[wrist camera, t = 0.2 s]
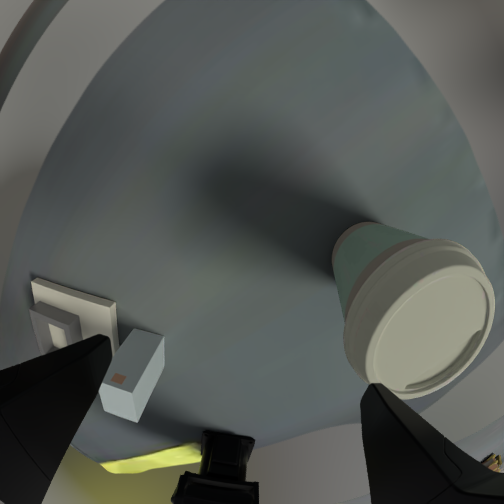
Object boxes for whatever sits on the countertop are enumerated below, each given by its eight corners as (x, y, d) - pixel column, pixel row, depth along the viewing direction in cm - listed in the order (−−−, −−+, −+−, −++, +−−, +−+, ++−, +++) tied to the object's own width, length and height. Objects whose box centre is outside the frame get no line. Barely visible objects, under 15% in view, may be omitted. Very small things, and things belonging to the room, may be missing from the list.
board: (125, 387, 28) (115, 405, 25) (55, 359, 28) (42, 373, 25) (115, 301, 24) (99, 318, 21) (37, 277, 25) (19, 288, 21)
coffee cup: (315, 309, 23) (343, 420, 12) (311, 207, 21) (358, 263, 9) (406, 297, 22) (475, 384, 11) (412, 201, 20) (516, 244, 9)
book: (459, 489, 44) (462, 499, 39) (445, 481, 39) (449, 494, 35) (501, 462, 39) (505, 472, 34) (498, 447, 34) (504, 460, 30)
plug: (164, 366, 26) (137, 423, 19) (136, 358, 26) (104, 410, 19) (164, 335, 25) (132, 393, 18) (133, 327, 25) (95, 380, 18)
